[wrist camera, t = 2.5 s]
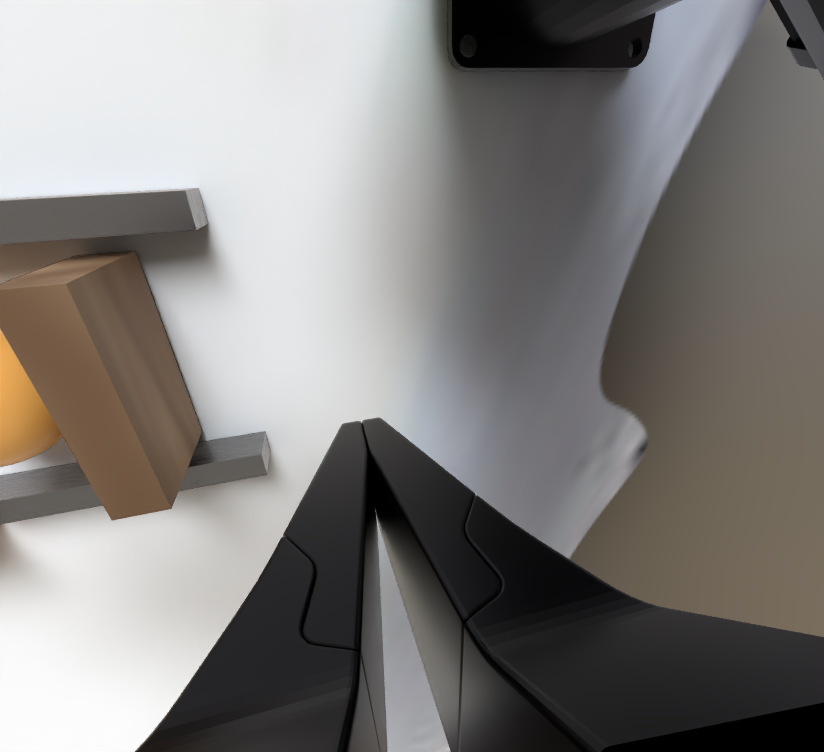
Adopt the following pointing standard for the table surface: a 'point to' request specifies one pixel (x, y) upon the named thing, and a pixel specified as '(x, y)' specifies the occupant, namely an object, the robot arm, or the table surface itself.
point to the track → (106, 218)
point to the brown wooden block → (105, 376)
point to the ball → (21, 412)
